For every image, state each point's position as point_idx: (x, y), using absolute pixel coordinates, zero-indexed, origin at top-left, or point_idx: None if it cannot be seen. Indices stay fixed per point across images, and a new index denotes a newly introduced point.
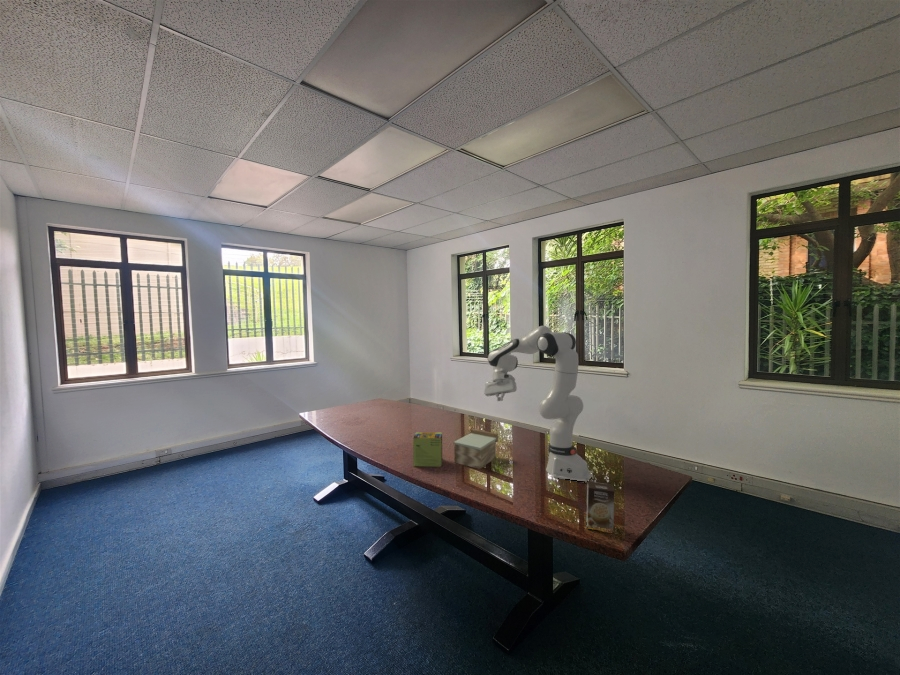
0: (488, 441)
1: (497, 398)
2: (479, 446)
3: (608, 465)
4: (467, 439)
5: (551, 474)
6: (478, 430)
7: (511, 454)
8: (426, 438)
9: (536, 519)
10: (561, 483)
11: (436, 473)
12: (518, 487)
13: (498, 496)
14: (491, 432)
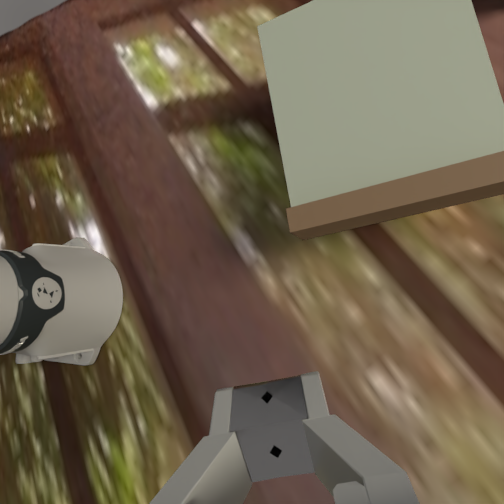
0: (288, 129)
1: (314, 399)
2: (273, 34)
3: (5, 458)
4: (416, 43)
5: (92, 249)
6: (455, 179)
7: (293, 326)
8: None
9: (41, 27)
10: (59, 221)
11: None
12: (127, 102)
13: (139, 18)
14: (339, 218)
